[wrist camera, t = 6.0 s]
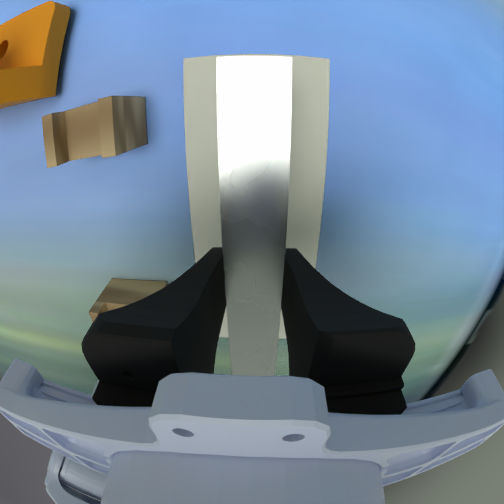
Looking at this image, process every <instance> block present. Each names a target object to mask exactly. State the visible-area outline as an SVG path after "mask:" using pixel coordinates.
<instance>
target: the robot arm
mask: <svg viewBox="0 0 504 504" xmlns="http://www.w3.org/2000/svg"><path fill="white" fill-rule="evenodd" d="M225 309H226V290H225V276H224V260H223V250H222V247H212V248H211V249H210V250H209V251H208V252H207V253H206V254H205V255H204V256H203V257H202V258H201V259H200V260H199V261H198V262H197V263H196V264H194V265H193V266H192V267H191V268H190V269H189V270H187V271H186V272H185V273H184V274H182V275H181V276H180V277H179V278H177V279H176V280H175V281H173V282H172V283H170V284H169V285H167V286H165V287H164V288H162V289H161V290H159V291H157V292H155V293H153V294H151V295H149V296H147V297H145V298H143V299H141V300H139V301H136V302H134V303H131V304H129V305H126V306H123V307H120V308H117V309H113V310H110V311H106V312H103V313H99V314H98V316H97V317H96V319H95V320H94V322H93V324H92V325H91V327H90V329H89V330H88V332H87V334H86V335H85V337H84V339H83V341H82V351H83V353H84V356H85V358H86V360H87V362H88V363H89V365H90V367H91V368H92V370H93V372H94V373H95V375H96V376H97V378H98V380H97V383H96V385H95V387H94V389H93V392H92V394H91V395H89V394H86V393H82V392H79V391H76V390H73V389H70V388H67V387H64V386H61V385H58V384H55V383H52V382H50V381H47V380H44V379H43V377H42V376H41V374H40V373H39V371H38V370H37V369H36V368H35V367H34V366H32V365H30V364H28V363H26V362H23V361H21V360H18V359H14V360H13V362H12V364H11V365H10V367H9V368H8V370H7V372H6V373H5V375H4V377H3V378H2V380H1V382H0V412H1V413H2V414H3V415H4V416H5V417H6V418H7V419H8V420H9V421H10V422H11V423H12V424H13V425H14V426H15V427H17V428H18V429H19V430H20V431H21V432H22V433H24V434H25V435H27V436H28V437H30V438H32V439H33V440H35V441H37V442H39V443H41V444H42V445H44V446H46V447H48V448H50V449H52V450H53V452H52V455H51V458H50V461H49V465H48V469H47V470H48V473H47V476H46V479H45V485H46V486H47V487H46V490H47V492H48V494H49V495H50V497H51V498H52V499H53V501H54V502H55V503H56V504H385V498H384V491H383V486H385V485H389V484H392V483H395V482H398V481H400V480H404V479H406V478H409V477H412V476H414V475H417V474H419V473H422V472H424V471H427V470H429V469H432V468H433V467H436V466H438V465H441V464H443V463H445V462H447V461H449V460H451V459H453V458H456V457H458V456H460V455H462V454H464V453H466V452H467V451H470V450H472V449H474V448H476V447H478V446H479V445H480V444H481V443H483V442H484V441H485V440H486V439H488V438H489V437H490V436H491V435H492V434H494V433H495V432H496V431H497V430H498V429H499V428H500V427H502V426H503V425H504V393H503V390H502V388H501V386H500V384H499V383H498V381H497V379H496V377H495V375H494V373H493V372H492V370H491V369H489V370H486V371H483V372H480V373H478V374H475V375H473V376H472V377H470V378H469V379H468V380H467V381H466V382H465V383H464V384H463V386H462V387H461V389H460V390H457V391H453V392H450V393H447V394H444V395H440V396H437V397H433V398H429V399H426V400H422V401H418V402H414V403H409V404H406V402H405V399H404V396H403V393H402V391H401V389H402V388H403V387H404V382H403V380H402V377H401V376H402V374H403V372H404V371H405V369H406V367H407V365H408V364H409V362H410V360H411V358H412V356H413V354H414V351H415V342H414V340H413V337H412V335H411V333H410V331H409V329H408V327H407V326H406V324H405V322H404V321H403V319H400V318H397V317H394V316H391V315H388V314H385V313H383V312H380V311H378V310H375V309H373V308H371V307H369V306H367V305H365V304H363V303H361V302H359V301H357V300H355V299H354V298H352V297H350V296H348V295H347V294H345V293H344V292H342V291H341V290H340V289H338V288H337V287H335V286H334V285H333V284H331V283H330V282H329V281H328V280H327V279H325V278H324V277H323V276H322V275H321V274H320V273H319V272H318V271H317V270H316V269H315V268H314V267H313V266H312V265H311V264H310V263H309V262H308V261H307V260H306V259H305V257H304V256H303V255H302V254H301V253H300V252H299V251H298V250H297V248H286V251H285V258H284V272H283V286H282V299H281V310H282V315H283V321H284V327H285V333H286V338H287V344H288V353H289V375H290V376H244V375H221V374H213V373H214V364H215V355H216V348H217V343H218V339H219V335H220V330H221V326H222V322H223V318H224V314H225ZM60 472H61V473H60ZM67 485H68V486H70V487H72V488H74V489H77V490H78V491H81V492H83V493H85V494H87V495H90V496H92V497H94V498H97V499H99V500H101V502H100V501H98V500H95V499H93V498H91V497H88V496H86V495H84V494H82V493H79V492H77V491H75V490H73V489H71V488H70V487H68V486H67Z"/></svg>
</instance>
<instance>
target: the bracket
mask: <svg viewBox="0 0 504 504" xmlns="http://www.w3.org/2000/svg"><path fill="white" fill-rule="evenodd" d="M70 12H71V11H70V8H69V7H68V6H65V5H62V4H59V3H56V2H53V1H48V2H46V3H44V4H41V5H39V6H37V7H35V8H32V9H30V10H28V11H26V12H24V13H22V14H20V15H18V16H16V17H14V18H12V19H11V20H9V21H7V22H5V23H3V24H2V25H0V109H1V108H5V107H9V106H13V105H17V104H21V103H25V102H30V101H34V100H39V99H42V98H47V97H53V96H56V87H57V78H58V71H59V64H60V58H61V52H62V47H63V42H64V37H65V33H66V29H67V25H68V21H69V17H70Z"/></svg>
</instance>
